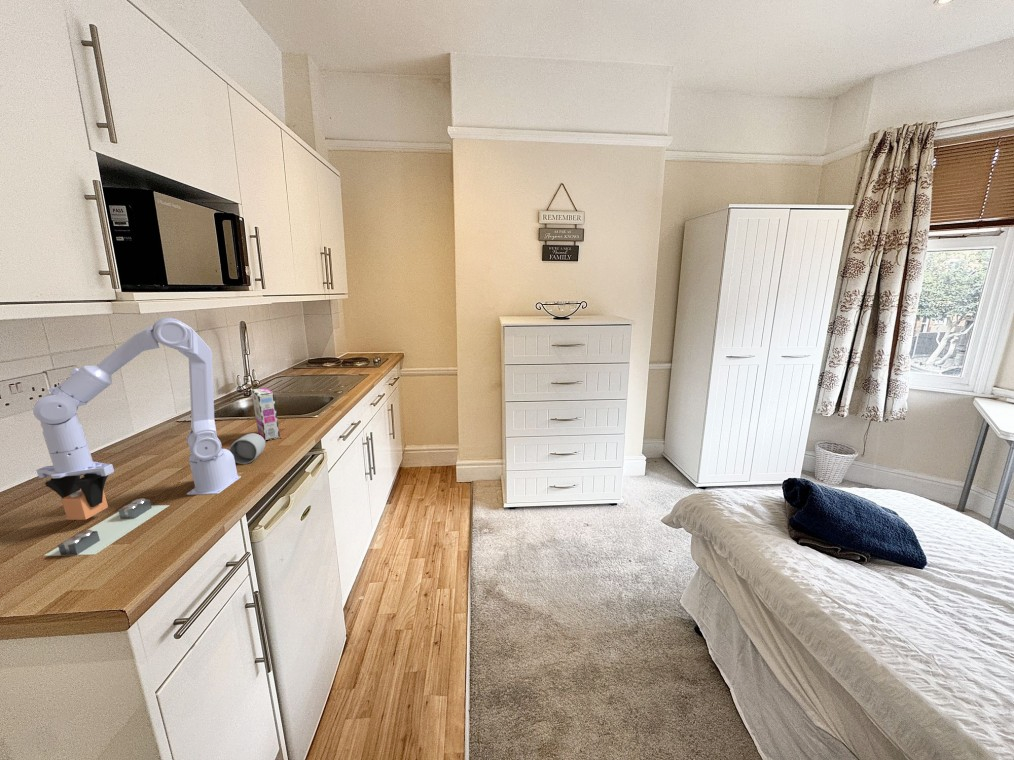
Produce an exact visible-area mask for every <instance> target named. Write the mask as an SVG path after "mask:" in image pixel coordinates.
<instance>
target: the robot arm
mask: <svg viewBox="0 0 1014 760" xmlns="http://www.w3.org/2000/svg"><path fill="white" fill-rule="evenodd" d="M159 344H161V345H164V346H165V347H168V348H170V349H174V350H177V351H178V352H179V353H180V354H182V355H183V356H185V357H186V358H188V370H189V371H188V372H189V374H188V375H189V395H190V397H189V398H190V415H191V417H190V431H189V433H188V435H187V437H186V444H187V445H188V447H189V453H190V455H189V457H188V462H189V466H190V472H191V475H192V479H193V483H194V488H192V489H191V490H190V491H188V492H187V493H186V496H189V495H190V496H191V495H199V496H200V495H218V494H220V493H221V492H223V491H224V490H225V489H227V488H228V487H229V486H231V485H233V483H235V482H236V481H238V480H239V479H240V478H241V477H242V476H241V475H238V469H237V465H236V462H235V459H234V456H233V454H232V453H231V452H230V451H229V449H228V448H222V442H221V440H220V439H219V438H218V435H217V428H216V426H217V425H216V421H215V402H214V400H215V399H214V398H215V397H214V374H213V351H212V349H211V348H210V346H208V344H207V343H206V342H205V340H204V339H203V338H202V337H201V336H199V334H198V333H197V332H196V331H195V330H194V329H193V328H192V327H191V326H189V325H187V324H186V323H184V322H183V321H181V320H179V319H177V318H175V317H170V316H168V317H166V316H165V317H162V318H160V319H158V320H156V321H155V322H154V323H153V326H152V324H150V325H148V326H146V327H145V328H143V329H142V330H141V329H140V330H139V331H138V332H136V333H135V334H132V336H130V338H128V339H127V340H126V341H124V343H122V344H121V345H119V346H118V347H117V348H116V349H114V351H112V352H111V353H110V354H109V355H107V356H106V357H105V358H103V359H102V360H101V361H100V362H99V363H98V364H95V365H84V366H83V365H82V367H80V368H78V367H75V368H74V369H72V370H71V371H69V374H71V375H70V376H69V377H67V378H66V379H65V380H63V381H62V382H61V383H59V384H58V385H57V386H55V385H53V386H51V387H50V388H48V392H50V393H46V394H45V395H42V397H41V398H40V399H39V400H38V401H36V403H35V404H34V405H33V407H32V409H33V410H32V412H33V413H32V414H33V416H34V417H35V418H36V419H37V420H38V421H39V422H40V427H41V428H42V435H43V438H44V441H45V444H46V448H47V451H48V453H49V456H50V459H51V463H52V465H45V466H42V467H40V468H38V469H36V470H35V471H36V473H37V476H38V479H44V478H46V477H51V478H50V479H49V480H47V481H46V482H45V483H44V484H45V486H46V487H48V488H49V489H50V490H53V492H55V493H56V494H57V495H58V496H60V498H61V499H62V498H64V497H67V496H69V495H71V494H72V493H75V492H77V491H79V490H82V492H83V493H84V495H85V497H86V500H87V502H88V504H89V505H90V507H95V506H97V505H98V504H100V503H102V499H103V490H104V489H105V485H106V481H107V480H108V477H109V475H111V474H113V473H115V470H114V466H113V464H112V463H104V462H99V461H93V460H94V459H93V457H92V454H91V450H90V447H89V444H88V441H87V437H86V433H85V429H84V427H83V425H82V423H81V422H80V418H79V414H78V413H77V411H78V409H79V407H83V406H85V405H87V404H88V403H89V402H91V401H92V400H93V399H94V398H96V397H97V396H98V395H100V394H101V393H102V392H103V391H104V390H106V389H107V388H108V387H110V385H112V383H113V380H112V379H113V378H112V376H113V374H115V373H116V372H117V371H118V370H120V369H121V368H123V367H124V366H125V365H127V364H128V363H130V362H131V361H132V360H133V359H135V358H136V357H138V356H139V355H140V354H142V353H143V352H145V351H149V350H155V349H160V346H159ZM81 476H83V477H81Z"/></svg>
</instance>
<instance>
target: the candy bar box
mask: <svg viewBox="0 0 1014 760" xmlns="http://www.w3.org/2000/svg"><path fill="white" fill-rule="evenodd" d="M274 394H275V393H274V392H273V391H271V390H270V389H268V387H262V388H261V387H260V388H253V389H251V395H252V396H251V397H252V402H253V410H254V414H255V421H256V426H257V434H260V435H261V436H262V437H263V438H264V440H265V442H267V441H266V440H268V441H271V440H270V439H273V440H275V439H274V438H277V439H279V438H278V437H280V438H281V435H280V434H281V433H280V429H279V428H280V427H279V422H278V414H277V407H276V406H277V405H276V400H275V399H276V398H275V395H274Z"/></svg>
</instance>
